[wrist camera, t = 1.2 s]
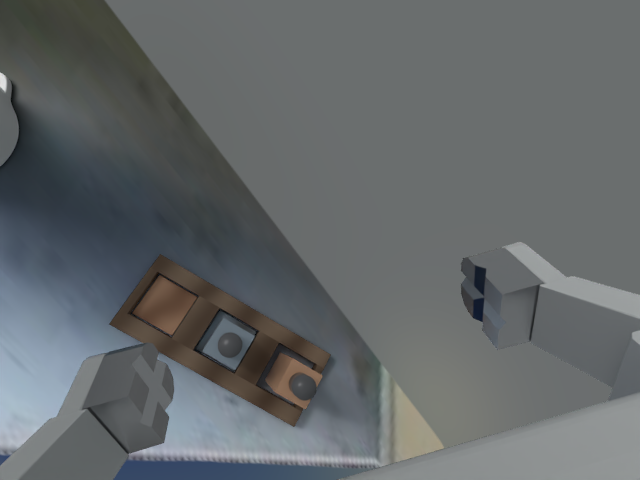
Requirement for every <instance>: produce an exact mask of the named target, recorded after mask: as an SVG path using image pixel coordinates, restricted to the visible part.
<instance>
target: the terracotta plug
mask: <svg viewBox="0 0 640 480" xmlns="http://www.w3.org/2000/svg"><path fill="white" fill-rule="evenodd" d="M322 376H323V375H321V374H319V373H317V372H316V371H314V370H312V369H311V368H309V367H307V366H305V365H304V364H302V363H300V362H298V361H297V360H295V359H293V358H291V357H289V356H287V355H285V354H283V353H279V355H278V357H277V359H276V360H275V362H274V364H273V366H272V368H271V370H270V371H269V373H268V375H267V377H266V379H265V381H266V382H267V384H268V385H269V386H270V387H271V388H272V389H273V391H274V392H275V393H277V394H279V395H281V396H283V397H284V398H286V399H288V400H290V401H291V402H293V403H295V404H297V405H298V406H300V407H302V408H304V409H306V408H307V406H308V404H309V402H310V400H311V398H312V397H313V396H314V395H315V393H316V389H317V386H318V384H319V382H320V380H321V378H322Z"/></svg>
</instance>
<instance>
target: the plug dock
mask: <svg viewBox="0 0 640 480" xmlns="http://www.w3.org/2000/svg"><path fill="white" fill-rule="evenodd" d="M159 273H160V274H162V275H164V276H165V277H167V278H169V279H170V280H172V281H174V282H176V283H177V284H179V285H181V286H182V287H184V288H186V289H188V290H189V291H191V292H193V293H195V294H196V295H198V296H199V297H198V299H197V296H195V295H193V294H191V293H190V292H188V291H186V290H185V289H183V288H181V287H179V286H178V285H176V284H174V283H173V282H171V281H169V280H167V279H166V278H164V277H162V276H161V275H159V276H158V274H159ZM157 276H158V278H157V279H156V281H155V282H154V283H153V285H152V286H151V288H150V289H149V290H148V292H147V293H146V295H145V296H144V297H143V299H142V300H141V301H140V299H141V298H142V296H143V295H144V294H145V292H146V291H147V289H148V288H149V287H150V285H151V284H152V282H153V281H154V280H155V278H156V277H157ZM196 299H197V300H196ZM195 300H196V302H195ZM139 301H140V303H139V304H138V306H137V307H136V308H135V306H136V305H137V303H138V302H139ZM194 302H195V303H194ZM193 303H194V305H193ZM192 305H193V306H192ZM191 306H192V308H191ZM134 308H135V310H134V311H133V314H134V315H136V316H138V317H140V318H142V319H143V320H145V321H147V322H149V323H150V324H152V325H154V326H156V327H158V328H159V329H161V330H163V331H165V332H166V333H168V334H170V335H173V334H174V335H173V336H172V337H170V336H169V335H167V334H165V333H163V332H161V331H160V330H158V329H156V328H154V327H153V326H151V325H149V324H147V323H145V322H144V321H142V320H140V319H138V318H137V317H135V316H133V315H131V314H130V313H131V312H132V310H133V309H134ZM190 308H191V309H190ZM189 309H190V311H189ZM219 309H222V310H224V311H225V312H227V313H229V314H231V315H232V316H234V317H236V318H237V319H239V320H241V321H243V322H244V323H246V324H248V325H249V326H251V327H253V328H255V329H256V330H258V333H257V334H256V336H255V338H254V339H253V341H252V343H251V345H250V346H249V348H248V350H247V351H246V353H245V355H244V357H243V358H242V360H241V362H240V363H239V365H238V367H237V368H236V370H235V372H233V371H231V370H229V369H227V368H225V367H224V366H222V365H220V364H218V363H217V362H215V361H213V360H211V359H209V358H208V357H206V356H204V355H202V354H201V353H199V352H197V351H195V350H193V349H194V348H195V346H196V345H197V343H198V342H199V340H200V338H201V337H202V335H203V334H204V332H205V331H206V329H207V327H208V326H209V324H210V323H211V321H212V320H213V318H214V316H215V315H216V313H217V312H218V310H219ZM188 311H189V312H188ZM187 312H188V314H187ZM186 314H187V315H186ZM185 315H186V317H185ZM184 317H185V318H184ZM183 318H184V320H183ZM222 318H224V319H226V320H228V321H230V322H231V323H233V324H235V325H237V326H238V327H240V328H242V329H243V330H245V331H247V332H249V333H250V334H252V335H255V333H256V332H257V331H255V330H253V329H252V328H250V327H248V326H246V325H245V324H243V323H241V322H240V321H238V320H236V319H234V318H233V317H231V316H229V315H228V314H226V313H224V312H222V311H221V310H220V311H219V313H218V314H217V316H216V318H215V319H214V321H213V322H212V324H211V326H210V327H209V329H208V330H207V332H206V333H205V335H204V337H203V338H202V340H201V341H200V343H199V344H198V346H197V348H196V349H197V350H198V351H200V352H202V351H203V349H204V347H205V345H206V344H207V342H208V340H209V339H210V337H211V336H212V334H213V332H214V331H215V329H216V328H217V326H218V324H219V323H220V321H221V320H222ZM182 320H183V321H182ZM181 322H182V323H181ZM180 323H181V324H180ZM110 325H111V326H113V327H115V328H117V329H119V330H120V331H122V332H124V333H126V334H128V335H129V336H131V337H133V338H135V339H137V340H138V341H140V342H142V343H147V342H148V343H153V344H154V346H155V347H156V349H157V350H158V352H160V353H162V354H164V355H166V356H167V357H169V358H171V359H173V360H175V361H176V362H178V363H180V364H182V365H184V366H185V367H187V368H189V369H191V370H193V371H194V372H196V373H198V374H200V375H202V376H203V377H205V378H207V379H209V380H211V381H212V382H214V383H216V384H218V385H220V386H221V387H223V388H225V389H227V390H229V391H230V392H232V393H234V394H236V395H238V396H239V397H241V398H243V399H245V400H247V401H248V402H250V403H252V404H254V405H256V406H257V407H259V408H261V409H263V410H265V411H266V412H268V413H270V414H272V415H274V416H275V417H277V418H279V419H281V420H283V421H284V422H286V423H288V424H290V425H292V426H293V427H294V426H295V424H296V422H297V421H298V419H299V417H300V415H301V413H302V411H303V409H304V408H302V407H300V406H298V405H297V404H295V403H294V405H291V404H289V403H288V402H286V401H284V400H282V399H281V398H279V397H277V396H275V395H273V394H272V393H270V392H268V391H266V390H265V389H263V388H261V387H259V386H257V385H256V383H257V381H258V380H259V378H260V376H261V374H262V373H263V371H264V369H265V367H266V365H267V364H268V362H269V360H270V358H271V356H272V355H273V353H274V351H275V349H276V348H277V346H278V344H279V343H280V344H282V345H284V346H285V347H287V348H289V349H291V350H292V351H294V352H296V353H297V354H299V355H301V356H303V357H304V358H306V359H308V360H309V361H311V362H313V363H315V364H314V366H313V368H312V370H314V371H316V372H317V373H319V374H321V373H322V371H323V369H324V367H325V365H326V363H327V361H328V359H329V357H330V354H329V353H327V352H325V351H324V350H322V349H320V348H319V347H317V346H315V345H313V344H312V343H310V342H308V341H307V340H305V339H303V338H302V337H300V336H298V335H297V334H295V333H293V332H291V331H290V330H288V329H286V328H285V327H283V326H281V325H280V324H278V323H276V322H274V321H273V320H271V319H269V318H268V317H266V316H264V315H263V314H261V313H259V312H258V311H256V310H254V309H252V308H251V307H249V306H247V305H246V304H244V303H242V302H241V301H239V300H237V299H235V298H234V297H232V296H230V295H229V294H227V293H225V292H224V291H222V290H220V289H219V288H217V287H215V286H213V285H212V284H210V283H208V282H207V281H205V280H203V279H202V278H200V277H198V276H196V275H195V274H193V273H191V272H190V271H188V270H186V269H185V268H183V267H181V266H180V265H178V264H176V263H174V262H173V261H171V260H169V259H168V258H166V257H164V256H163V255H161V254H160V255H159V256H158V258H157V259H156V261H155V262H154V263H153V265H152V266H151V267H150V269H149V270H148V272H147V273H146V274H145V276H144V277H143V278H142V280H141V281H140V282H139V284H138V285H137V287H136V288H135V289H134V291H133V292H132V293H131V295H130V296H129V298H128V299H127V300H126V302H125V303H124V304H123V306H122V307H121V308H120V310H119V311H118V313H117V314H116V315H115V317H114V318H113V319H112V321H111V322H110ZM179 325H180V326H179ZM178 326H179V327H178ZM177 328H178V329H177ZM176 329H177V330H176ZM175 331H176V332H175ZM174 332H175V333H174ZM202 353H204V352H202ZM204 354H205V355H207V356H209V355H208V354H206V353H204ZM209 357H211V356H209ZM211 358H213V357H211ZM213 359H214V360H216V361H218V360H217V359H215V358H213ZM218 362H220V361H218ZM220 363H221V364H223V365H225V364H224V363H222V362H220ZM225 366H227V365H225ZM227 367H229V366H227ZM229 368H230V369H232V368H231V367H229ZM232 370H234V369H232Z"/></svg>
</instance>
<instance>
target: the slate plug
mask: <svg viewBox="0 0 640 480" xmlns="http://www.w3.org/2000/svg"><path fill="white" fill-rule="evenodd" d="M254 337H255V336H254V335H252V334H250V333H249V332H247V331H245V330H243V329H242V328H240V327H238V326H237V325H235V324H233V323H231V322H230V321H228V320H226V319H224V318H222V320H221V321H220V323H219V324H218V326H217V328H216V329H215V331H214V332H213V334H212V336H211V337H210V339H209V340H208V342H207V344H206V345H205V347H204V349H203V351H202V352H204V353H206V354H208V355H209V356H211V357H213V358H215V359H217V360H218V361H220V362H222V363H224V364H225V365H227V366H229V367H231V368H232V369H234V370H236V368H237V366H238V364H239V363H240V361H241V359H242V358H243V356H244V354H245V352H246V351H247V349H248V347H249V346H250V344H251V342H252V341H253V339H254Z"/></svg>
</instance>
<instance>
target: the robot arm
mask: <svg viewBox="0 0 640 480" xmlns="http://www.w3.org/2000/svg"><path fill="white" fill-rule="evenodd" d="M11 92H12V84H11V81H10V80H9V79H8V78H7V77H6V76H5V75H4V74H2V73H0V166H1V165H2V164H3V163H4V162H5V161H6V160H7V159H8V158H9V157H10V155H11V154H12V152H13V150H14V148H15V146H16V143H17V140H18V134H19V125H18V120H17V116H16V114H15V111H14V109H13V107H12V104H11ZM461 271H462V272H463V274H464V275H465V276H466V278H465V279H464V281H463V282H462V284H461V294H462V298H463V301H464V304H465V306H466V308H467V310H468V312H469V313H470V315H471V316H472V317H473V318H474V319H476V320H479V321H481V322H483V327H482V331H483V332H484V333H485V334H486V336H487V337H488V338H489V340H490V341H491V342H492V344H493V345H494V346H495V348H497V350H498V349H502V348H506V347H510V346H514V345H518V344H522V343H526V342H530V341H531V344H533V345H535V346H537V347H539V348H540V349H542V350H544V351H546V352H548V353H549V354H551V355H553V356H555V357H557V358H559V359H561V360H562V361H564V362H566V363H568V364H570V365H572V366H574V367H575V368H577V369H579V370H581V371H583V372H584V373H586V374H588V375H590V376H592V377H594V378H596V379H597V380H599V381H601V382H603V383H605V384H607V385H608V386H610V387H612V390H611V393H610V396H609V398H608V401H607V402H604V403H600V404H597V405H593V406H590V407H586V408H583V409H579V410H576V411H573V412H569V413H566V414H563V415H559V416H555V417H552V418H548V419H545V420H542V421H538V422H535V423H531V424H528V425H524V426H521V427H518V428H514V429H510V430H507V431H503V432H500V433H497V434H493V435H490V436H486V437H483V438H479V439H476V440H473V441H469V442H466V443H462V444H459V445H455V446H452V447H448V448H445V449H441V450H438V451H434V452H431V453H427V454H424V455H421V456H417V457H414V458H410V459H407V460H403V461H400V462H396V463H393V464H390V465H386V466H383V467H379V468H376V469H372V470H369V471H365V472H362V473H358V474H355V475H352V476H348V477H345V478H341V479H338V480H640V295H637V294H634V293H630V292H627V291H623V290H619V289H616V288H613V287H609V286H606V285H602V284H599V283H595V282H592V281H588V280H584V279H581V278H578V277H574V276H572V277H568V278H567V277H565V276H564V275H563V274H562V273H561V272H559V271H558V270H557V269H556V268H554V267H553V266H552V265H551V264H549V263H548V262H547V261H546V260H544V259H543V258H542V257H541V256H539V255H538V254H537V253H535V252H534V251H533V250H532V249H530V248H529V247H528V246H527V245H526V244H524V243H520V242H518V243H514V244H511V245H507V246H504V247H501V248H499V249H495V250H491V251H488V252H484V253H480V254H477V255H473V256H469V257H466V258H463V261H462V263H461ZM158 353H159V352H158V350H157V349H156V347H155V346H154V344H153V343H148V342H147V343H143V344H139V345H135V346H131V347H127V348H123V349H118V350H114V351H110V352H108V353H104V354H99V355H95V356H91V357H88V358H87V359H86V360H84V361H83V363H82V365H81V367H80V369H79V371H78V373H77V375H76V378H75V380H74V382H73V384H72V386H71V388H70V390H69V392H68V394H67V396H66V398H65V400H64V403H63V405H62V407H61V409H60V411H59V413H58V415H57V417H55V418H51V419H49V420H48V421H47V422H46V423H45V424H44V425H43V426H42V427H41V428H40V429H39V430H38V431H37V432H35V433H34V434H33V435H32V436H31V437H30V438H29V439H28V440H27V441H26V442H25V443H24V444H23V445H22V446H21V447H20V448H19V449H18V450H17V451H15V452H14V453H13V454H12V455H11V456H10V457H9V458H8V459H7V460H6V461H5V462H4V463H3V464H2V465H1V466H0V480H113V479H114V477H115V476H116V474H117V473H118V471H119V470H120V468H121V467H122V465H123V464H124V462H125V461H126V459H127V458H128V456H129V455H128V454H129V453H133V452H136V451H139V450H142V449H146V448H149V447H152V446H155V445H159V444H162V443H164V440H165V435H166V430H167V425H168V420H169V416H168V415H167V413H166V412H165V409H166V408H167V407H168V405H169V404H170V403H171V401H172V399H173V393H174V385H173V377H172V374H171V371H170V369H169V367H168V366H167V364H166V363H163V362H161V361H159V360H157V357H158Z"/></svg>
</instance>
